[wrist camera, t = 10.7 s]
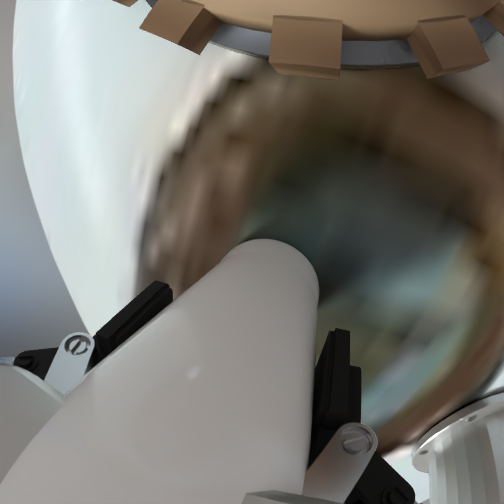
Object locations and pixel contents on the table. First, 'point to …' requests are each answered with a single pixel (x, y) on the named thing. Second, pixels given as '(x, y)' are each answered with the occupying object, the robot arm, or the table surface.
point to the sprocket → (334, 29)
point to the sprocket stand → (352, 52)
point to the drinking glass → (191, 397)
